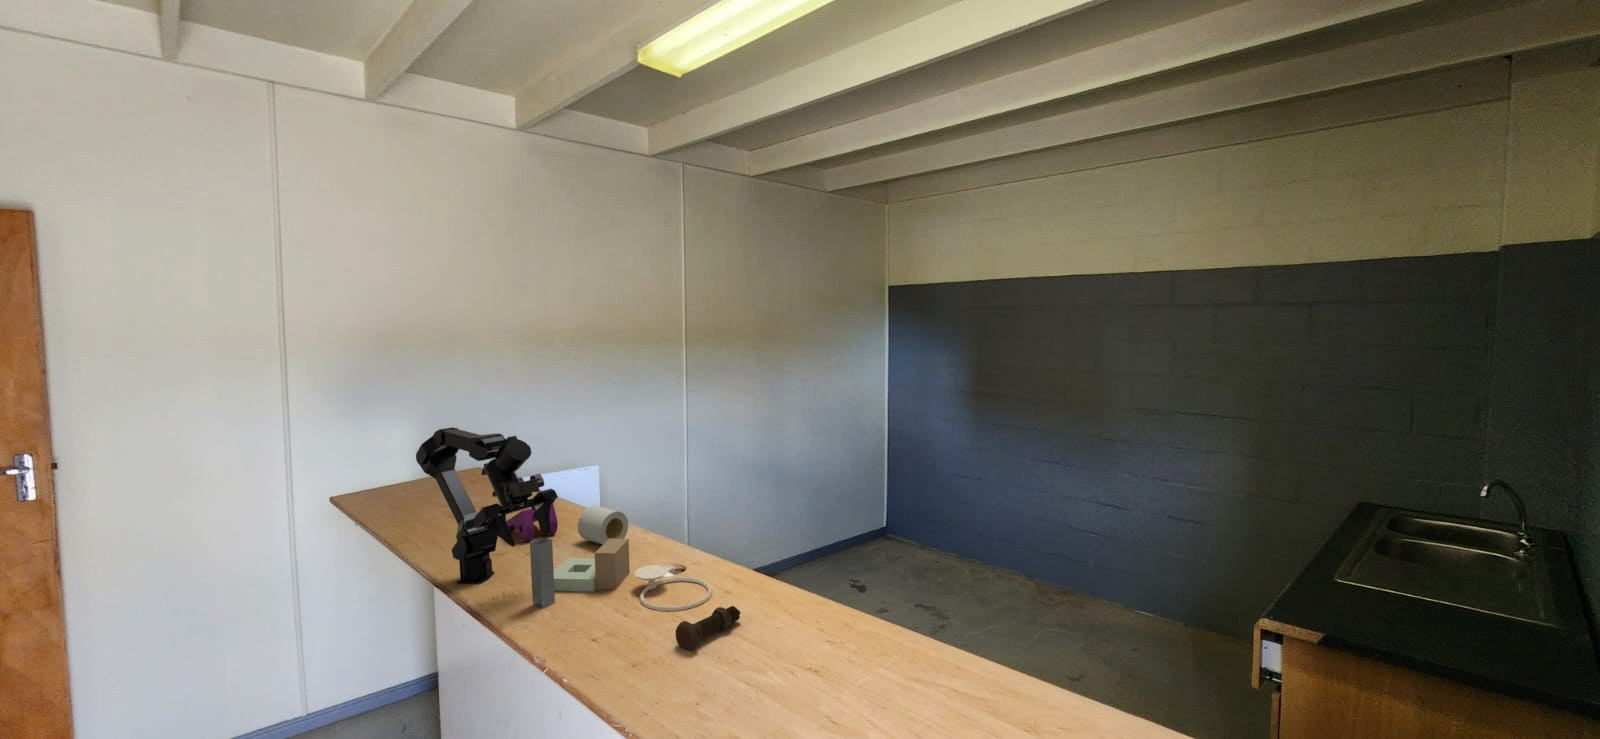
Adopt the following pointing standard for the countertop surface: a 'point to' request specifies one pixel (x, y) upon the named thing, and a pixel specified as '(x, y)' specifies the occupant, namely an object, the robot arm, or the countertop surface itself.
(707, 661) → the countertop surface
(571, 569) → the square holed base
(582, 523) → the toilet paper
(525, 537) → the mounting bracket
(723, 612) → the bolt
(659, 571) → the hand towel holder
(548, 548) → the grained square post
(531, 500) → the robot arm
